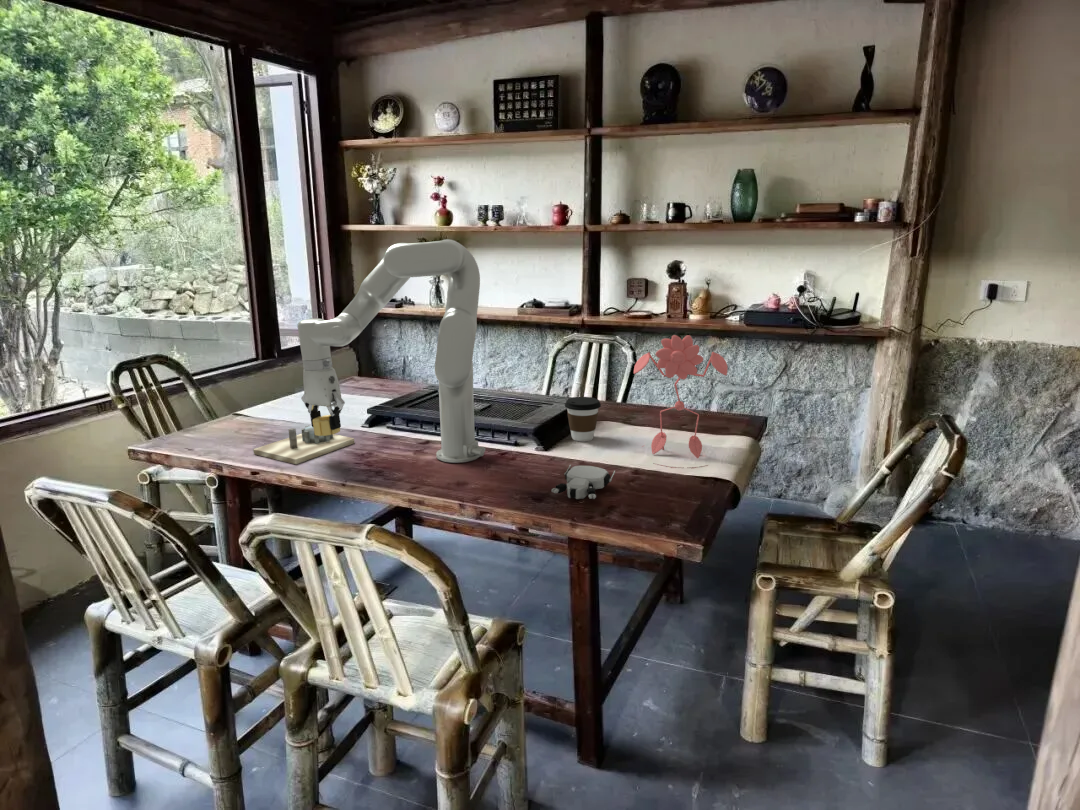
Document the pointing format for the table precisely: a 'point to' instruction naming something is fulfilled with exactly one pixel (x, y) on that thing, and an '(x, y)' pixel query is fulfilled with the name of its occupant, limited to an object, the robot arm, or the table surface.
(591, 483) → the robot toy
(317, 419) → the ochre gear
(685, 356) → the dancing flower figure
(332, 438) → the gear board
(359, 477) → the table surface
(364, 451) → the table surface
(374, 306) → the robot arm
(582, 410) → the coffee cup
